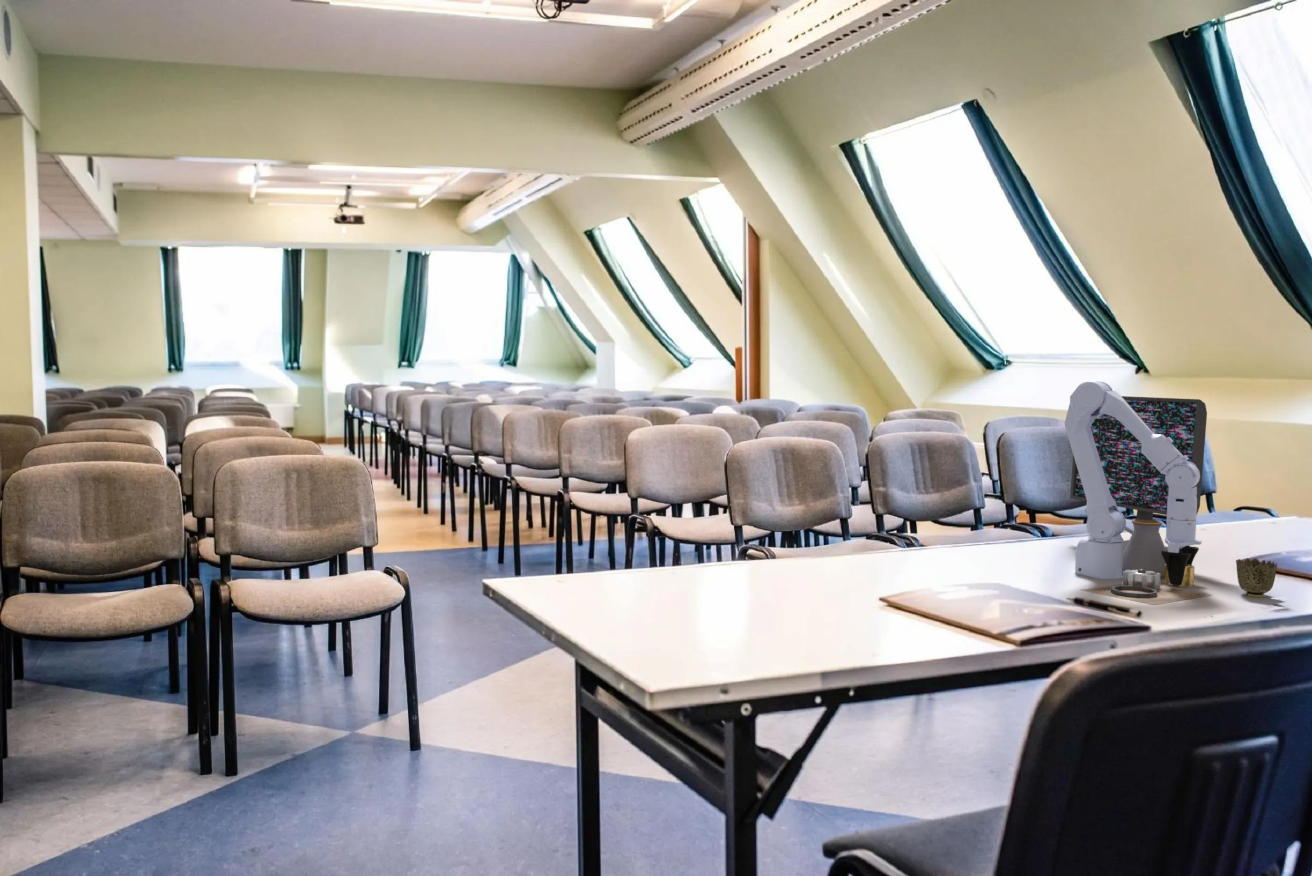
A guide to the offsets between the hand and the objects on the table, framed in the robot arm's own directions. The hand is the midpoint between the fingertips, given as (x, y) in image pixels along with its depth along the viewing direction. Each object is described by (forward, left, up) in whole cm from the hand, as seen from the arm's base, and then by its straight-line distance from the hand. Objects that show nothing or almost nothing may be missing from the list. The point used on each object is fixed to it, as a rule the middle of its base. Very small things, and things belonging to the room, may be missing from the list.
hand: (1178, 581), depth 242 cm
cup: (+15, +3, -2) cm, 15 cm away
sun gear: (-2, -10, 0) cm, 10 cm away
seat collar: (+2, -18, 0) cm, 18 cm away
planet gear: (0, 0, -1) cm, 1 cm away
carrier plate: (+2, -15, -1) cm, 15 cm away
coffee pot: (-16, +4, -2) cm, 17 cm away
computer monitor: (-34, +31, -2) cm, 46 cm away
